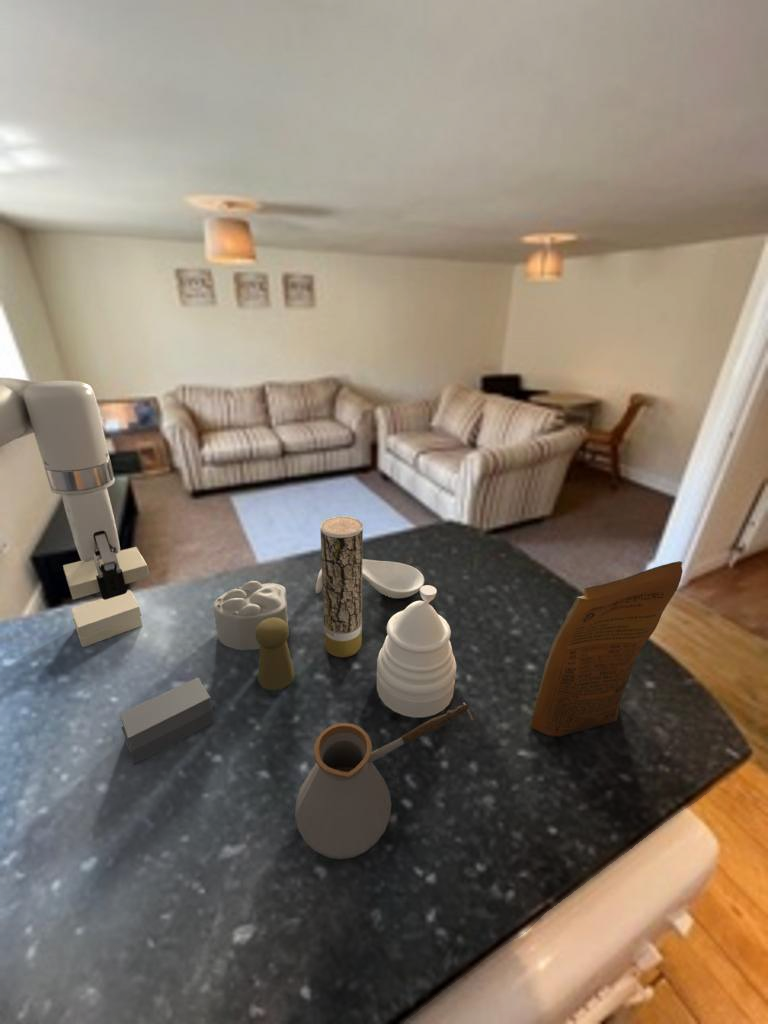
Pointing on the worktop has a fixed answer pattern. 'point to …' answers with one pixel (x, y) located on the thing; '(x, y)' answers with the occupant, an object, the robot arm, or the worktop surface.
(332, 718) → the worktop surface
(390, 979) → the worktop surface
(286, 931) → the worktop surface
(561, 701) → the pancake mix bag
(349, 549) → the brown bark cylinder
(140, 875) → the worktop surface
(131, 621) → the tan rectangular block
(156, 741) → the grey block
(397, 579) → the spoon rest
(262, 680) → the olive peg figurine
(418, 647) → the honey pot
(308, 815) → the coffee pot
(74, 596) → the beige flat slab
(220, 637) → the lumpy-topped squat cylinder
